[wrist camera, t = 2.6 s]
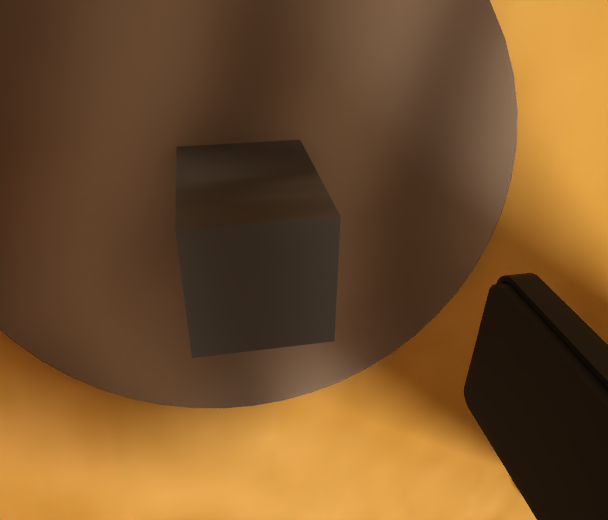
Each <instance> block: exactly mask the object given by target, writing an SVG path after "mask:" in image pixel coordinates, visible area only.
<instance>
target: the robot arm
mask: <svg viewBox="0 0 608 520" xmlns="http://www.w3.org/2000/svg"><path fill="white" fill-rule="evenodd" d="M464 396H465V401H466V404H467V406H468V408H469V409H470V411H471V413H472V414H473V416H474V418H475V419H476V421H477V422H478V424H479V426H480V427H481V429H482V431H483V432H484V434H485V435H486V437H487V439H488V440H489V442H490V444H491V445H492V447H493V449H494V450H495V452H496V453H497V455H498V457H499V458H500V460H501V462H502V463H503V465H504V466H505V468H506V470H507V471H508V473H509V475H510V476H511V478H512V480H513V481H514V483H515V484H516V486H517V488H518V489H519V491H520V493H521V494H522V496H523V497H524V499H525V501H526V502H527V504H528V506H529V507H530V509H531V511H532V512H533V514H534V515H535V517H536V519H537V520H608V345H607V344H606V343H605V342H604V341H603V340H602V339H601V338H600V337H599V336H598V335H597V334H596V333H595V332H594V331H593V330H592V329H591V328H590V327H589V326H588V325H587V324H586V323H585V322H584V321H583V320H582V319H581V318H580V317H579V316H578V315H577V314H576V313H575V312H574V311H573V310H572V309H571V308H570V307H569V306H568V305H566V304H565V303H564V302H563V301H562V300H561V299H560V298H559V297H558V296H557V295H556V294H555V293H554V292H553V291H552V290H551V289H550V288H549V287H548V286H547V285H546V284H545V283H544V282H543V281H542V280H541V279H540V278H539V277H538V276H537V275H535V274H532V273H526V274H516V275H506V276H502V277H500V279H499V280H498V281H497V284H495V285H492V287H491V288H490V290H489V293H488V297H487V301H486V305H485V309H484V313H483V316H482V320H481V324H480V328H479V332H478V336H477V340H476V344H475V348H474V352H473V355H472V359H471V363H470V367H469V371H468V375H467V379H466V383H465V387H464Z"/></svg>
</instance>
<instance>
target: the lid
mask: <svg viewBox="0 0 608 520" xmlns="http://www.w3.org/2000/svg"><path fill="white" fill-rule="evenodd" d="M516 139H517V103H516V93H515V83H514V74H513V70H512V66H511V62H510V58H509V54H508V50H507V46H506V41H505V38H504V35H503V33H502V30H501V28H500V25H499V23H498V20H497V18H496V15H495V13H494V10H493V8H492V5H491V3H490V0H0V329H1V330H2V331H3V332H4V333H5V334H6V335H7V336H8V337H9V338H11V339H12V340H13V341H14V342H16V343H17V344H19V345H20V346H21V347H23V348H24V349H26V350H27V351H28V352H30V353H31V354H33V355H34V356H35V357H37V358H38V359H40V360H41V361H43V362H45V363H47V364H49V365H50V366H52V367H54V368H56V369H58V370H59V371H61V372H63V373H65V374H67V375H68V376H70V377H73V378H75V379H77V380H80V381H82V382H85V383H87V384H89V385H92V386H94V387H96V388H99V389H101V390H105V391H108V392H111V393H115V394H118V395H121V396H124V397H128V398H131V399H136V400H141V401H146V402H151V403H156V404H161V405H169V406H179V407H189V408H231V407H242V406H254V405H259V404H265V403H270V402H276V401H281V400H286V399H289V398H293V397H296V396H300V395H304V394H307V393H311V392H314V391H316V390H319V389H322V388H324V387H327V386H329V385H332V384H335V383H337V382H340V381H342V380H344V379H346V378H348V377H350V376H352V375H354V374H356V373H358V372H360V371H362V370H364V369H366V368H368V367H369V366H371V365H373V364H374V363H376V362H378V361H379V360H381V359H382V358H384V357H386V356H387V355H389V354H391V353H392V352H393V351H395V350H396V349H397V348H399V347H400V346H401V345H403V344H404V343H405V342H407V341H408V340H409V339H411V338H412V337H413V336H415V335H416V334H417V333H418V332H419V331H420V330H421V329H422V328H423V327H424V326H425V325H426V324H428V323H429V322H430V321H431V320H432V319H433V318H434V317H435V316H436V315H437V314H438V313H439V312H440V311H441V310H442V308H443V307H444V306H445V305H446V304H447V303H448V302H449V300H450V299H451V298H452V297H453V296H454V295H455V294H456V293H457V291H458V290H459V288H460V287H461V286H462V284H463V283H464V281H465V280H466V279H467V277H468V276H469V274H470V273H471V272H472V270H473V269H474V267H475V265H476V264H477V262H478V260H479V258H480V256H481V255H482V253H483V251H484V249H485V248H486V246H487V244H488V242H489V240H490V238H491V236H492V233H493V231H494V229H495V226H496V224H497V221H498V219H499V217H500V214H501V212H502V209H503V205H504V202H505V198H506V195H507V191H508V188H509V184H510V181H511V176H512V170H513V163H514V157H515V151H516Z"/></svg>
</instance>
